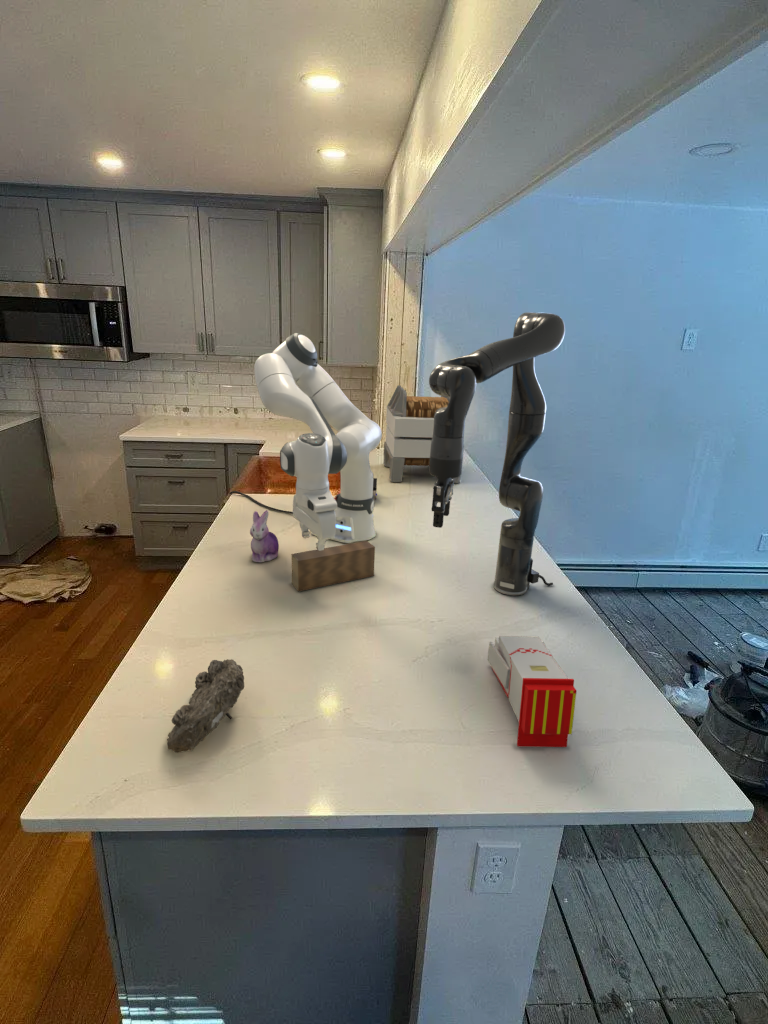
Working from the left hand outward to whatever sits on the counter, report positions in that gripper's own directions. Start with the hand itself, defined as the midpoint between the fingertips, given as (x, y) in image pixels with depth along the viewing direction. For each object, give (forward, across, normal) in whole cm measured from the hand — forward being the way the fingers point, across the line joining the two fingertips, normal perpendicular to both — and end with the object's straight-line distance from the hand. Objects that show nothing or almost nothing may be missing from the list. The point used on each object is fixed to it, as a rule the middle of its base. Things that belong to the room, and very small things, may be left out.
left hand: (312, 543), depth 156 cm
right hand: (-15, +32, +19) cm, 40 cm away
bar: (+13, -1, +7) cm, 15 cm away
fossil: (+13, +41, -40) cm, 58 cm away
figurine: (+13, -24, -5) cm, 28 cm away
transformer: (+14, -84, +95) cm, 128 cm away
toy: (+13, +66, +17) cm, 69 cm away
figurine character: (+14, -60, +53) cm, 81 cm away
